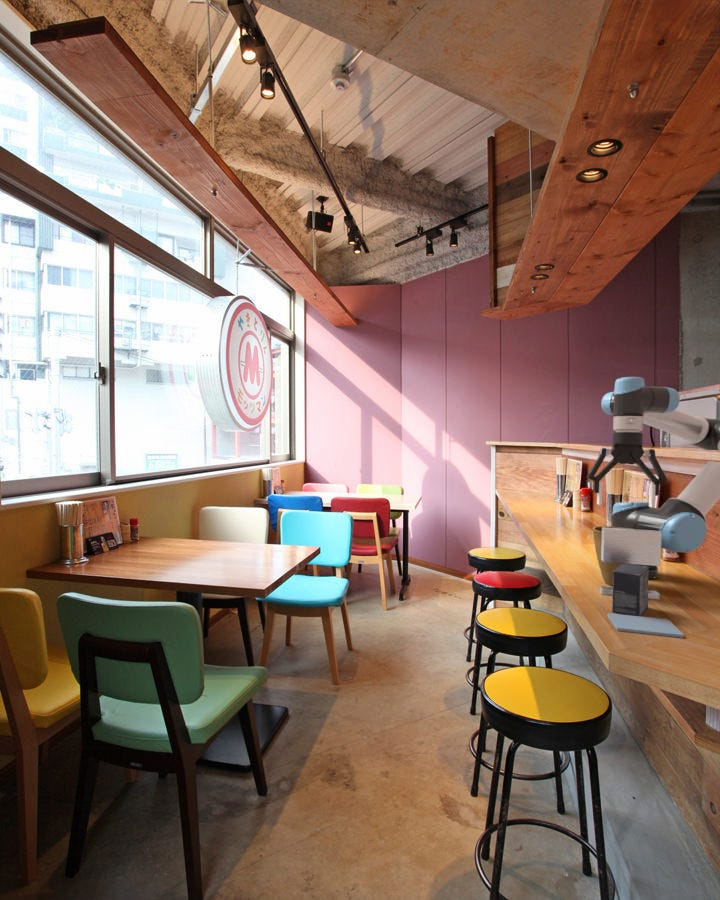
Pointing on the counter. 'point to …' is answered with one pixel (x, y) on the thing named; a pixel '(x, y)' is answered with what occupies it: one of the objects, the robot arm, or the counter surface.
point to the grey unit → (631, 550)
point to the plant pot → (605, 567)
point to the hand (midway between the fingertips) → (625, 505)
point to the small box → (630, 590)
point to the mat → (644, 625)
